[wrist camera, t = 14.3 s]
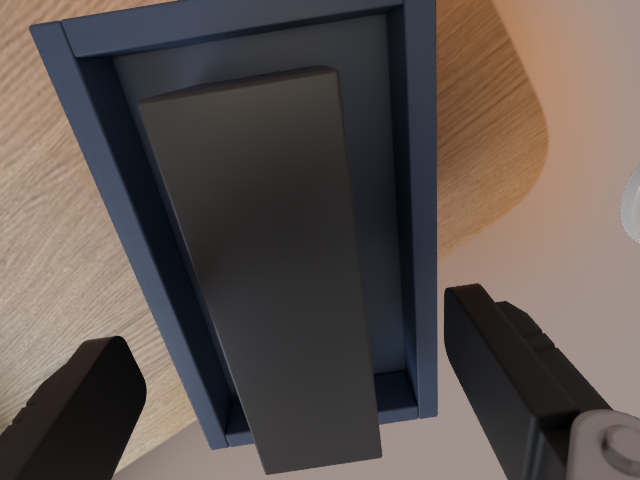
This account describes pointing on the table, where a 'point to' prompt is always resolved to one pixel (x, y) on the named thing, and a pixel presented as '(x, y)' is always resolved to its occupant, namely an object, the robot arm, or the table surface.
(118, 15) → the tray
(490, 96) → the table surface
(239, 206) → the block
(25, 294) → the table surface
